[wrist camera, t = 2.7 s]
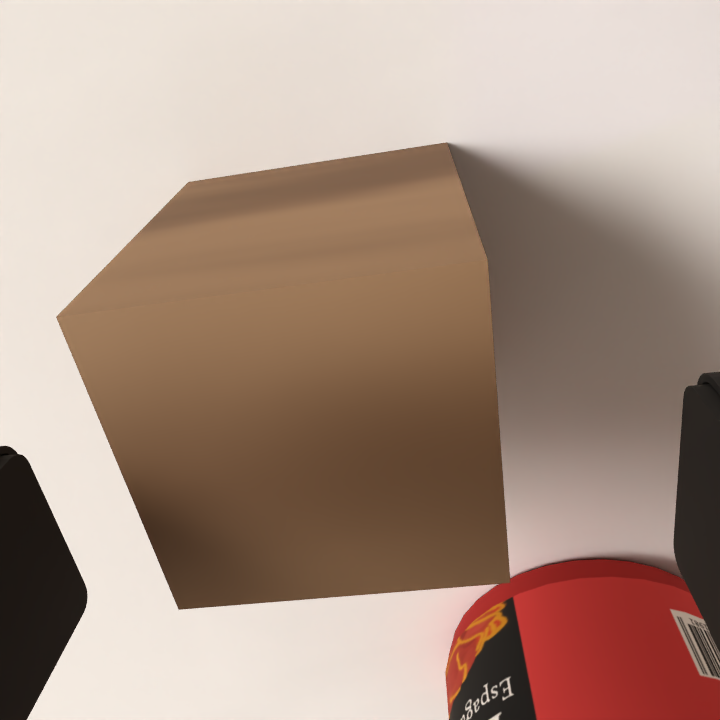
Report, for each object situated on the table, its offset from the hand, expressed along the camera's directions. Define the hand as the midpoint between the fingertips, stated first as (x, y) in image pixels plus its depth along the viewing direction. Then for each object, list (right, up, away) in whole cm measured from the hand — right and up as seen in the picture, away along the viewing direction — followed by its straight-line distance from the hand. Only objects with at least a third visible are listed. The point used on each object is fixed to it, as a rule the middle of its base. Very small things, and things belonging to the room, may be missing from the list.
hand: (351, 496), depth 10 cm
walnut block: (0, +4, +4) cm, 6 cm away
